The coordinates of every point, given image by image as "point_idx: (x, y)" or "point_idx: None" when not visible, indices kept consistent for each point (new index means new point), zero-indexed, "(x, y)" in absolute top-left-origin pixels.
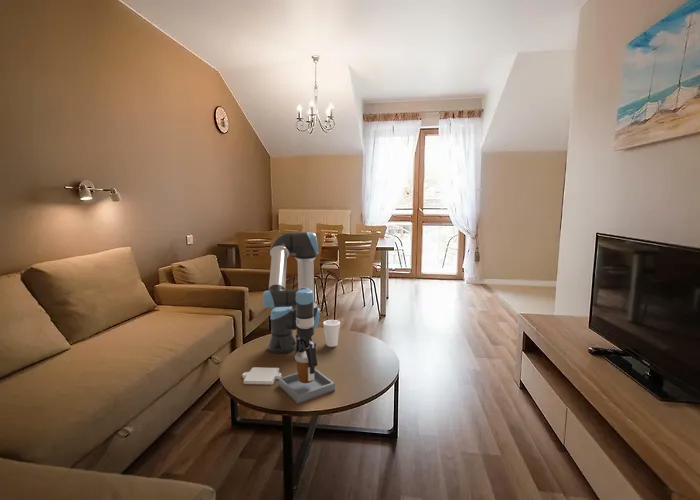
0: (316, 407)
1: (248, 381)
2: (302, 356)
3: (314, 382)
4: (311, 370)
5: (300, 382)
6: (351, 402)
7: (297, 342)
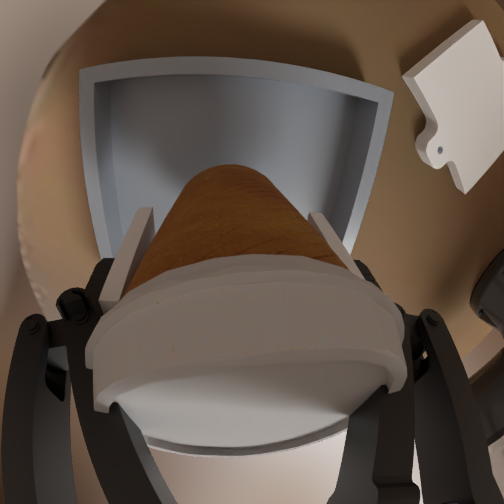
0: (36, 149)
1: (471, 26)
2: (220, 394)
3: None
4: (88, 286)
5: (294, 191)
6: (33, 280)
7: (464, 470)
